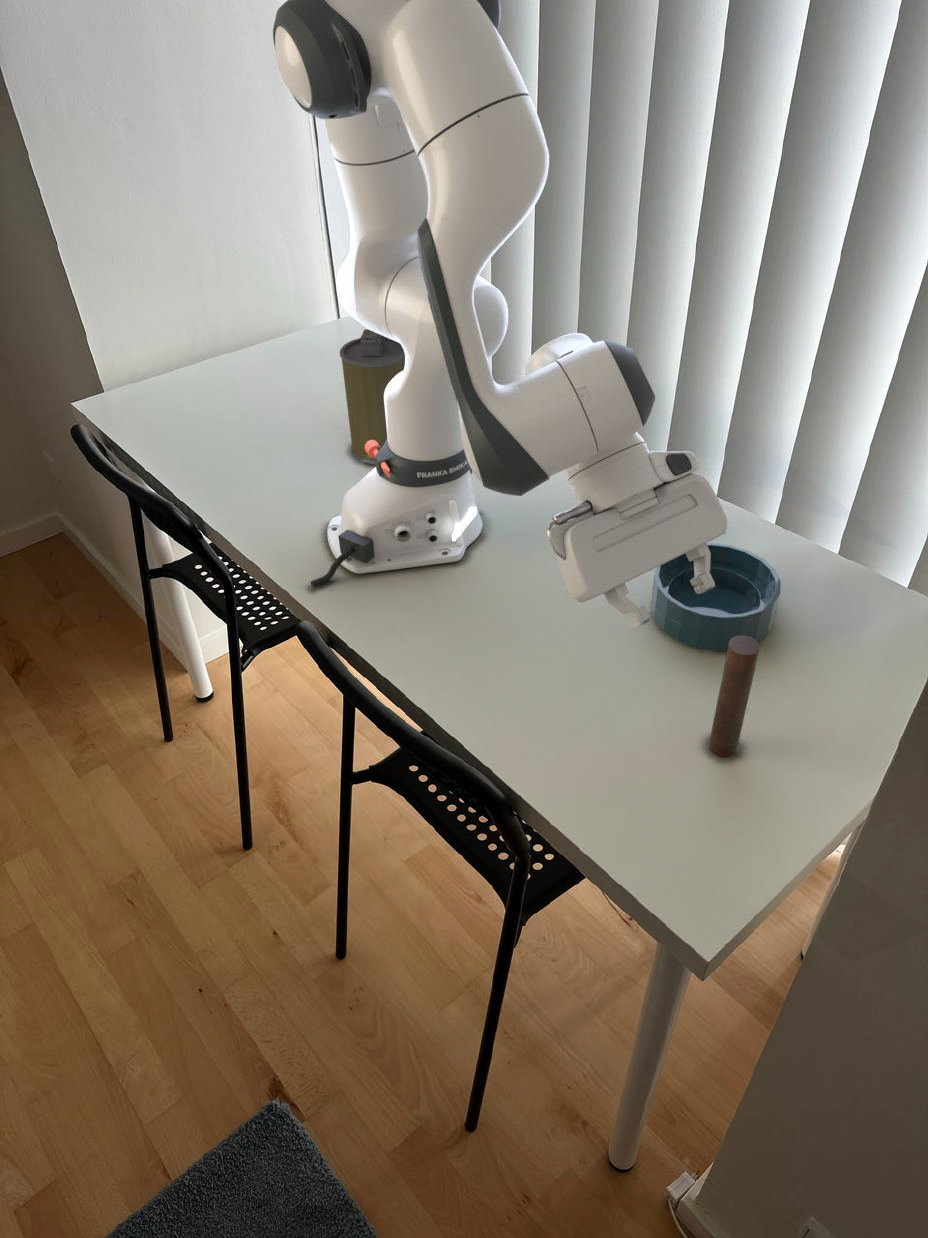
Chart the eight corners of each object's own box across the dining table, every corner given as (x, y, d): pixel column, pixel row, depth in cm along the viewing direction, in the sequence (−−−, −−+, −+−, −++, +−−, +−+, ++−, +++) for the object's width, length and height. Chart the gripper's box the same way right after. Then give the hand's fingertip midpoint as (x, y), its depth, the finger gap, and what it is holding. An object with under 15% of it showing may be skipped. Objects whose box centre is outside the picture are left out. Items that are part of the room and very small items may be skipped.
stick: (718, 761, 102) (740, 658, 93) (703, 742, 105) (723, 639, 95) (742, 753, 103) (766, 650, 94) (726, 734, 105) (748, 632, 96)
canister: (406, 467, 152) (397, 348, 139) (344, 463, 153) (329, 345, 141) (420, 434, 160) (413, 319, 147) (361, 430, 162) (348, 316, 149)
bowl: (690, 668, 114) (696, 630, 110) (629, 596, 125) (632, 559, 121) (796, 636, 118) (806, 598, 114) (728, 568, 129) (735, 532, 125)
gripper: (555, 511, 91) (616, 641, 91) (704, 447, 100) (760, 565, 100) (526, 529, 97) (583, 651, 97) (669, 467, 106) (722, 579, 106)
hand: (674, 607), depth 99 cm, fingers open, 8 cm apart
